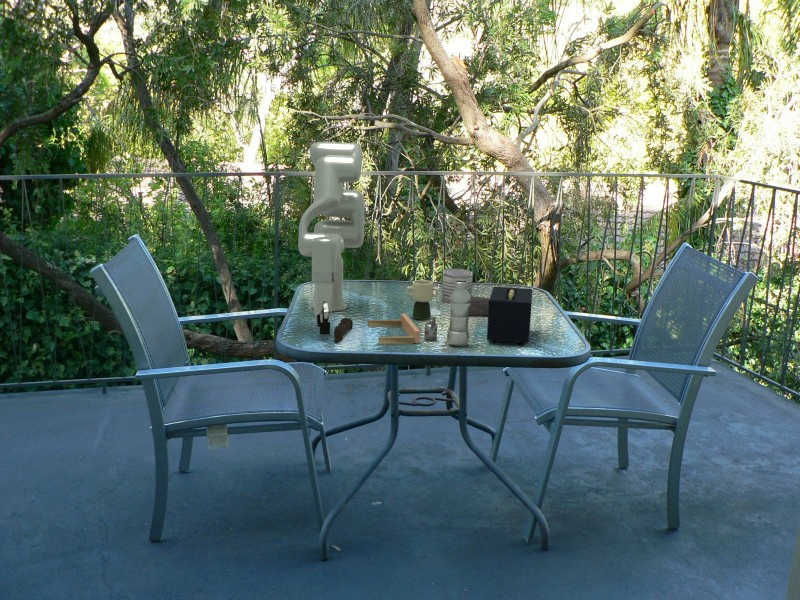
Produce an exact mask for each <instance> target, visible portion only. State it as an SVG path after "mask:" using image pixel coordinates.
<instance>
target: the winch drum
mask: <svg viewBox="0 0 800 600" xmlns="http://www.w3.org/2000/svg"><path fill="white" fill-rule="evenodd" d="M436 319H437V316H432V319H431V320H428V322H425V323H424V332H423V333H424V334H423V335H424V337H423V340H424V341H426V342H436V341H438V328H439V327H438V326H439V324H438V323H436V322H437V321H436Z"/></svg>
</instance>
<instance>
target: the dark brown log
mask: <svg viewBox="0 0 800 600" xmlns="http://www.w3.org/2000/svg"><path fill="white" fill-rule="evenodd" d="M353 325H354V322H353V319H351V318H348V317H344V318H342V319H340V322H339V323H338V325H336V326H335V327H334V328H333V340H334V343H335V344H338V343H340V342H341V341H343V339H344V337H345V335H346V334H347V333H348V332H349V331H350V330H352V329H353V328H354V326H353Z"/></svg>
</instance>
